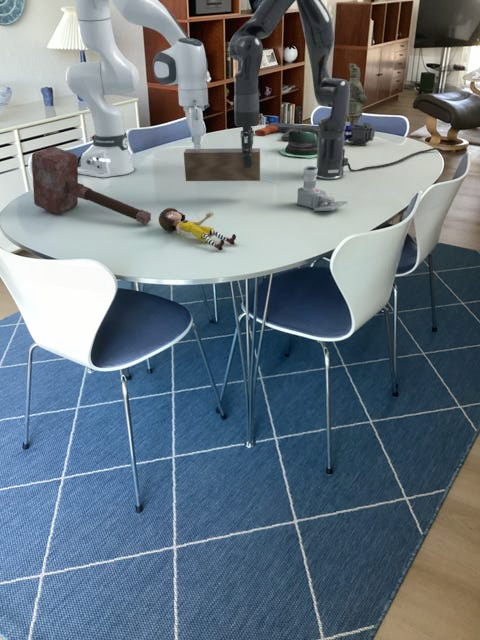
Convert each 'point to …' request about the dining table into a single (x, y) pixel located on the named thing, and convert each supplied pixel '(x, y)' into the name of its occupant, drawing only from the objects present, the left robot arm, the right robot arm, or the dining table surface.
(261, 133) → the submachine gun
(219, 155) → the bar
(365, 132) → the toy
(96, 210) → the dining table surface
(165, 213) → the figurine
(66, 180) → the sledgehammer
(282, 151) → the green brimmed hat
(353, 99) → the statue
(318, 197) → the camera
